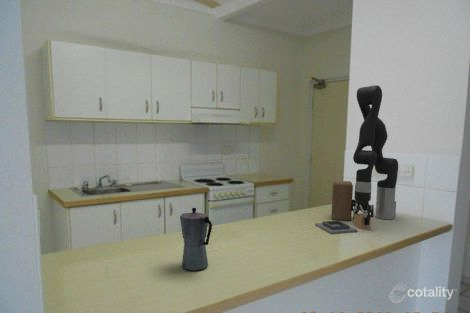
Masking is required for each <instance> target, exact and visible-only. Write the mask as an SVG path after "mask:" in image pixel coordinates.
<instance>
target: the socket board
mask: <svg viewBox="0 0 470 313" xmlns="http://www.w3.org/2000/svg"><path fill="white" fill-rule="evenodd" d="M314 225H315V226H316V227H317V228H320V229H322V230H323V231H324V232H326V233H328V234H330V235H338V234H350V233H351V234H352V233H358V229H355V228H354V227H352V226H350V225H349V224H347V223H345V222H344V221H342V220H326V221H325V220H324V221H322V222H317V223H315V224H314Z"/></svg>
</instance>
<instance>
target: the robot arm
mask: <svg viewBox="0 0 470 313" xmlns="http://www.w3.org/2000/svg"><path fill="white" fill-rule="evenodd" d="M356 100H357V103H358V106H359V109H360V112H361V115H362V117H363V118H362V119H363V122H362V123H361V126H360V128H359V133H358V134H359V135H358V137H359V138H358V142H357V146H356V149H355V151H354V153H353V162H354V164H357V165H364V166H365V165H367V167H366V168H359V169H357V170H356V174H355V175H356V176H355V185H354V196H353V197H354V198H353V199H352V201H351V211H352V213H353V216H352V218H353V221H354V214H359V212H362V213H363V214H364V216H365V222H364V225H369V224H370V218H371V219H372V218H374V216H375V218H377V219H380V220H393V219H396V215H397V214H396V212H397V201H396V189H397V188H396V187H397V181H398V173H399V161H398V159H397V158H393V157H392V158H391V157H384V155H383V149H384V147H385V145H386V142H387V140H388V138H389V137H388V136H389V135H388V132H387V127H386V124H385V123H384V121H382V119H381V118H379V112H380V109H381V104H382V100H383V90H382V88H381V86H380V85H369V86H364V87H362V86H361V87H359V88H358V89H357V91H356ZM365 147H370V148H371V150H363V149H364V148H365ZM374 170H375V171H376V173H377V174H380V175H386V178H385V179H381V180H378V181H377V182H376V183H377V184H376V202H375V206H374V204H370V201H371V200H372V177H373V176H372V174H373V171H374ZM374 208H375V209H374ZM374 210H375V213H374ZM362 213H361V214H362ZM374 214H375V215H374Z"/></svg>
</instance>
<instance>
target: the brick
mask: <svg viewBox="0 0 470 313" xmlns="http://www.w3.org/2000/svg"><path fill="white" fill-rule="evenodd" d="M353 215H354V220H353V226H354V227H357V228H358V229H361V230H364V229H365V230H366V229H371V224H372V223H371V222H372V217H371V218H370V224H369V225H364V222H365V216H364V214H363V213H358V214H354V213H353Z"/></svg>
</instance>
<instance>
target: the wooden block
mask: <svg viewBox="0 0 470 313" xmlns="http://www.w3.org/2000/svg"><path fill="white" fill-rule="evenodd" d="M353 189H354V185H353V182H352V181H350V180H349V181H348V180H333V181H332V194H331V197H332V199H331V219H332V220H333V221H346V222H347V221H348V222H350V221H352V217H353V216H352V213H353V211H351V201H352V200H353V197H354V196H353V194H354V193H353V191H354V190H353Z"/></svg>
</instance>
